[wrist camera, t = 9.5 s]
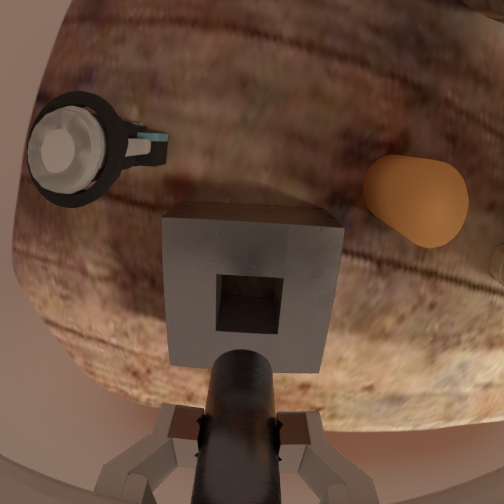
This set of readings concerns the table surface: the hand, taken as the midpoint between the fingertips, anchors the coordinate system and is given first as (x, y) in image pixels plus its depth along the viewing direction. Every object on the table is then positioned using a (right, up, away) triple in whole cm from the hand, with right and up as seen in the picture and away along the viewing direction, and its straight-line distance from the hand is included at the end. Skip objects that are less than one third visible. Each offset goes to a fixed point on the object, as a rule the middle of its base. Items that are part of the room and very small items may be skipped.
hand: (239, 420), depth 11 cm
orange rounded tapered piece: (+11, +11, +11) cm, 19 cm away
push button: (-8, +14, +10) cm, 19 cm away
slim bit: (0, +1, +3) cm, 3 cm away
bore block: (0, +5, +13) cm, 14 cm away
